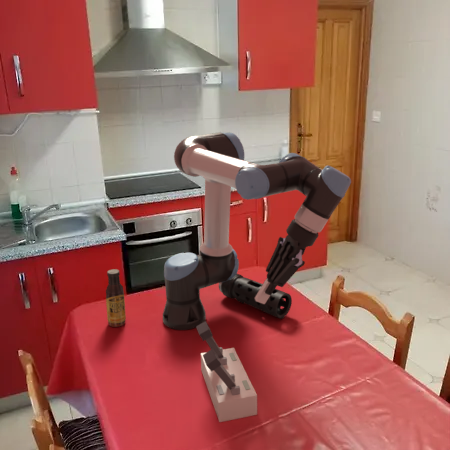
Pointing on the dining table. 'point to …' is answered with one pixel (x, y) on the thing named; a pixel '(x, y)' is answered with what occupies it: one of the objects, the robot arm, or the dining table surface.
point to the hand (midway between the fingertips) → (259, 301)
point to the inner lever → (208, 338)
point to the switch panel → (236, 397)
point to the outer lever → (218, 368)
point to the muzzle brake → (247, 291)
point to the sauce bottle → (115, 300)
